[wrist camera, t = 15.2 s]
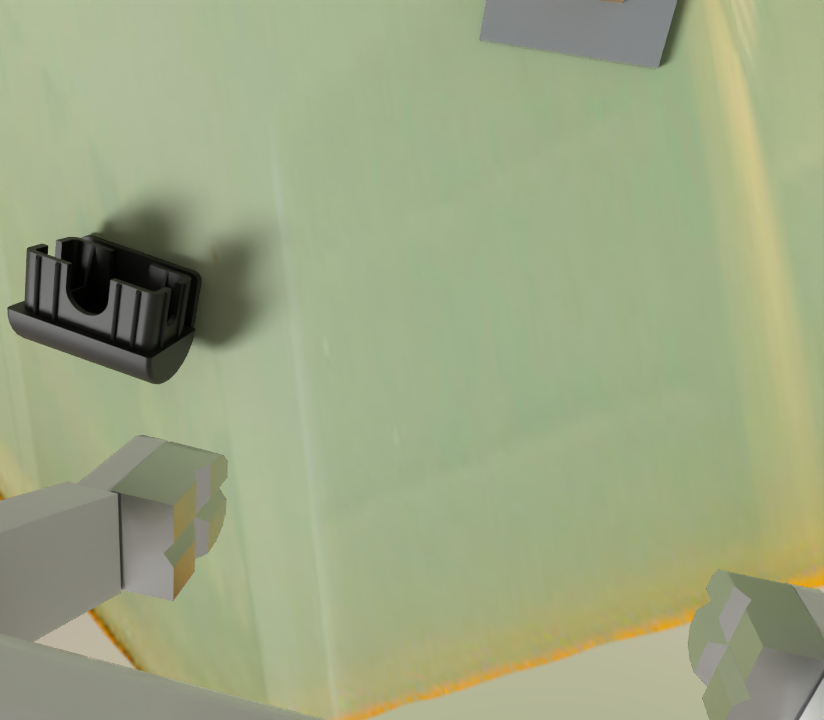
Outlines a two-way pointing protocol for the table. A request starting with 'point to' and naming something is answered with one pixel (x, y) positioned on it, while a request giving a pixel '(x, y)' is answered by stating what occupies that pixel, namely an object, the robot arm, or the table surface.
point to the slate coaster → (583, 28)
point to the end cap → (109, 306)
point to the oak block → (614, 1)
